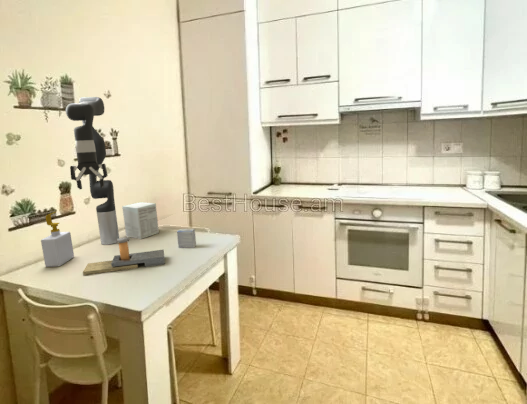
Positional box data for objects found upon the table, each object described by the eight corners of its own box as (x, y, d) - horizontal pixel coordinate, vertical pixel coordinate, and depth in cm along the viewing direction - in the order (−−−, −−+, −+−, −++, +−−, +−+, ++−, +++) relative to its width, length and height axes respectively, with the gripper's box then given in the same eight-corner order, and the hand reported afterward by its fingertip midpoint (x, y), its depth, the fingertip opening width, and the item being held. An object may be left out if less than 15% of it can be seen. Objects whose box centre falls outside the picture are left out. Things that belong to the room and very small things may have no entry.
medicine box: (196, 245, 174) (195, 228, 172) (193, 248, 169) (192, 231, 168) (181, 245, 174) (179, 228, 173) (178, 248, 170) (176, 231, 168)
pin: (121, 264, 151) (117, 238, 149) (132, 263, 152) (128, 236, 150) (119, 268, 147) (116, 241, 144) (131, 266, 148) (127, 239, 146)
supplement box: (159, 232, 199) (156, 203, 196) (140, 239, 188) (137, 207, 185) (144, 230, 206) (141, 201, 203) (125, 236, 195) (121, 206, 192)
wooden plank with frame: (83, 275, 141) (82, 267, 140) (88, 266, 150) (87, 259, 150) (164, 264, 149) (163, 256, 148) (164, 256, 159) (163, 249, 158)
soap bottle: (59, 266, 152) (50, 215, 147) (44, 267, 152) (35, 215, 148) (74, 257, 164) (67, 208, 159) (61, 257, 164) (53, 209, 159)
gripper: (105, 150, 155) (109, 185, 158) (70, 151, 151) (75, 188, 154) (102, 150, 148) (107, 188, 151) (65, 152, 144) (71, 190, 147)
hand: (91, 188), depth 152 cm, fingers open, 8 cm apart
